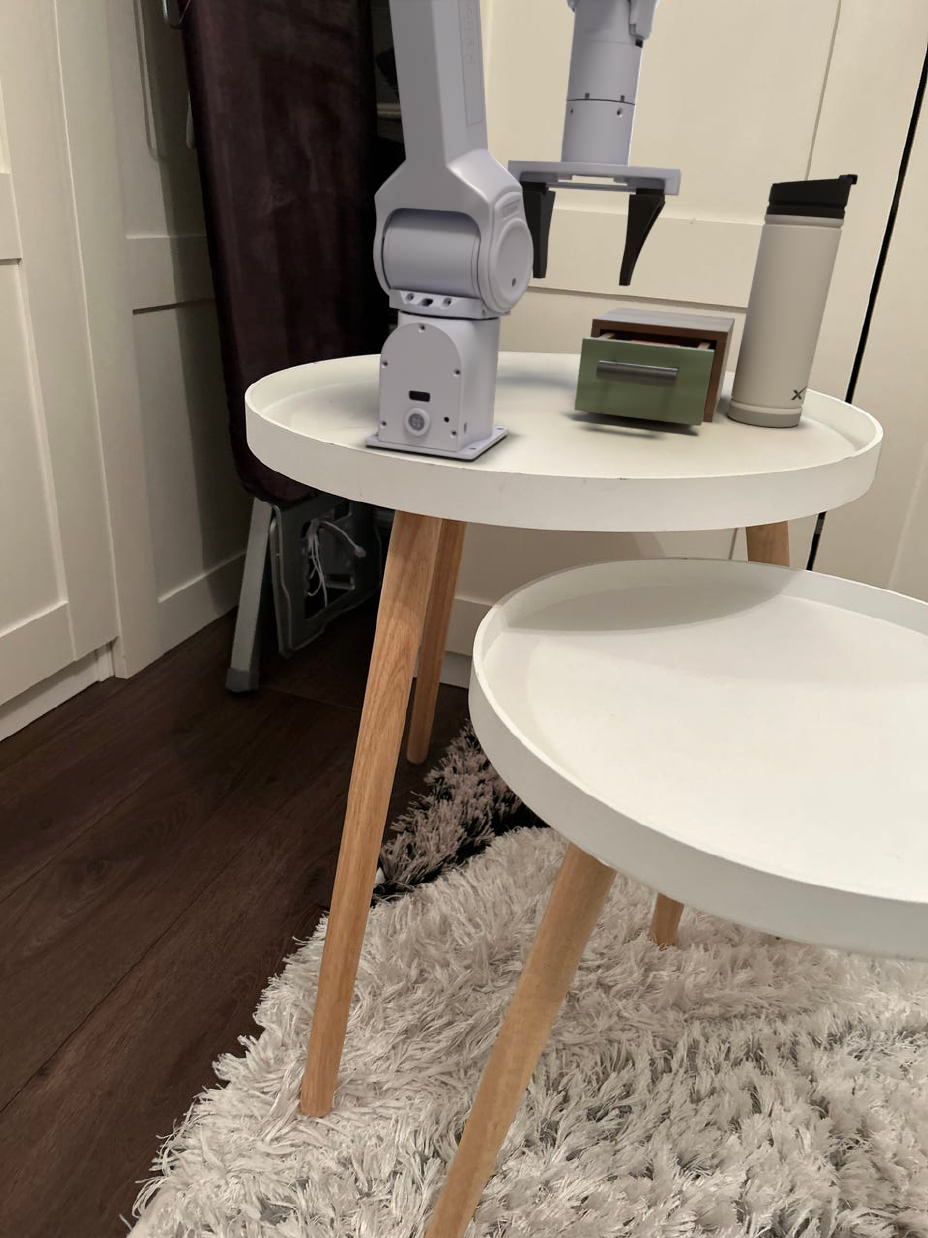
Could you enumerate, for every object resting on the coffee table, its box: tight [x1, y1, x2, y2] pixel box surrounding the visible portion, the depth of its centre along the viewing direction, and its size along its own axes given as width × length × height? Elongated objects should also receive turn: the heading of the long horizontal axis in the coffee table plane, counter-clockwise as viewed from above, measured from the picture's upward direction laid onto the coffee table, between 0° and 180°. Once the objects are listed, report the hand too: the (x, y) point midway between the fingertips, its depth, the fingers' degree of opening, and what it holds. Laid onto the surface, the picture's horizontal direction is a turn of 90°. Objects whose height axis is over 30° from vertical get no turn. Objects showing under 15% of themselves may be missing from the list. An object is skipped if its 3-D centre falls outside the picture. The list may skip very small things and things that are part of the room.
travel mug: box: [727, 173, 859, 428], centre depth 75 cm, size 6×7×20 cm
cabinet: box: [590, 307, 736, 423], centre depth 83 cm, size 14×12×8 cm
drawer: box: [574, 330, 715, 427], centre depth 74 cm, size 17×10×6 cm, turn 162°
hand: (581, 281), depth 78 cm, fingers open, 7 cm apart
